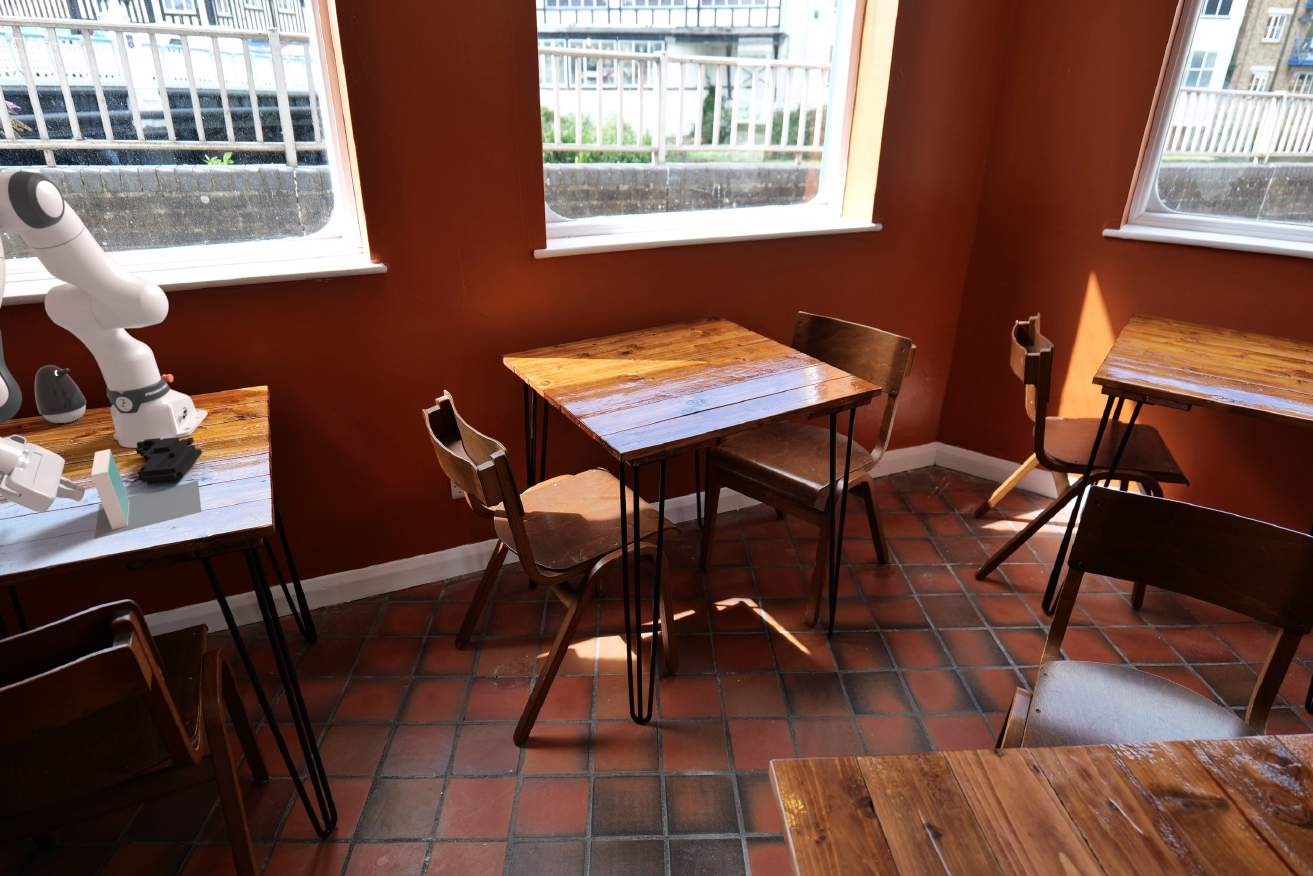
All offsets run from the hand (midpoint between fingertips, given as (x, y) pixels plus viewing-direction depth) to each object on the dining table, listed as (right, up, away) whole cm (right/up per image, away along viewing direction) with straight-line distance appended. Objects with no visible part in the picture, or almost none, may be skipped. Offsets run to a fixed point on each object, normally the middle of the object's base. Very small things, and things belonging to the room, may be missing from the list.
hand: (82, 495), depth 147 cm
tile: (+4, -4, +5) cm, 8 cm away
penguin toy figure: (-44, +16, +53) cm, 70 cm away
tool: (+1, +4, +24) cm, 24 cm away
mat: (+9, -3, +7) cm, 12 cm away
